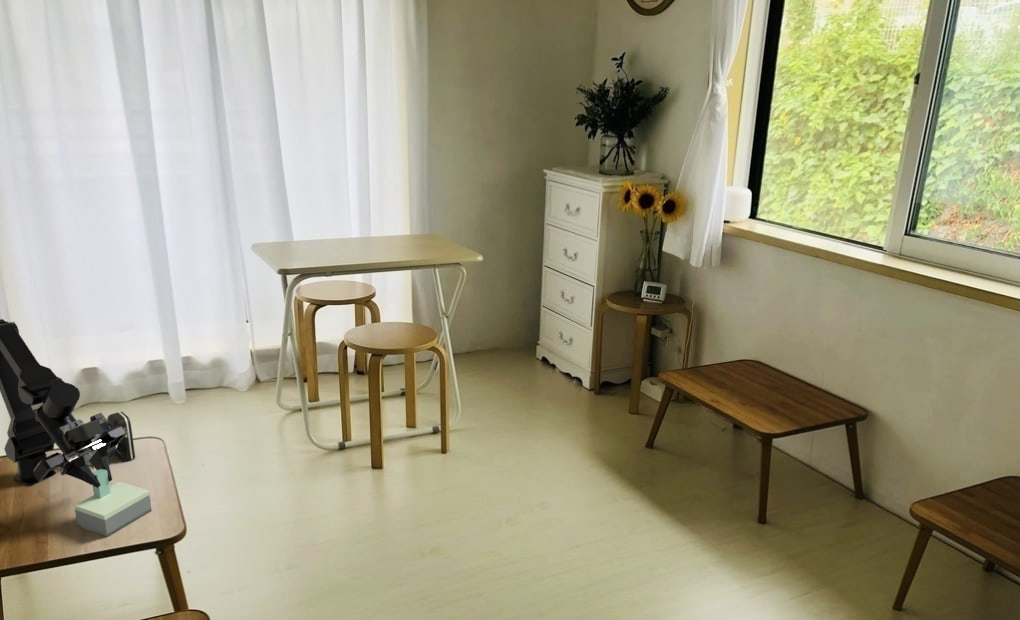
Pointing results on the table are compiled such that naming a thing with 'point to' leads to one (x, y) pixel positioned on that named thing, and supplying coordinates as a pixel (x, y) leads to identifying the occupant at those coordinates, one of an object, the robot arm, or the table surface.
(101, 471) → the lid
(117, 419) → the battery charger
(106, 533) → the tub
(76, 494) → the table surface
